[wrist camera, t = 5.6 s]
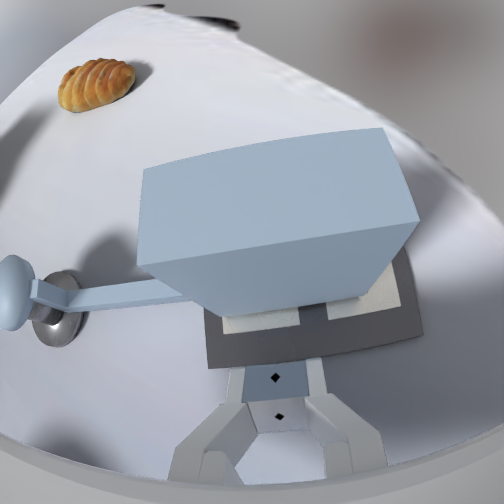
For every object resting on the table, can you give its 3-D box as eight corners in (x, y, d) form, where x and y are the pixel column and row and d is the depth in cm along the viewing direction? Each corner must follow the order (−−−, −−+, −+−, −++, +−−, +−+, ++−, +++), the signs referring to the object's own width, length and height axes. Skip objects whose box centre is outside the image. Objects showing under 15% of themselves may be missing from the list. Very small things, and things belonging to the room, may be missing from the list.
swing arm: (28, 339, 16) (-65, 312, 9) (32, 278, 18) (-52, 236, 10) (367, 309, 14) (428, 248, 6) (348, 225, 15) (374, 111, 8)
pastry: (152, 67, 26) (138, 40, 22) (120, 112, 24) (100, 85, 21) (92, 77, 28) (77, 56, 25) (61, 118, 26) (43, 97, 23)
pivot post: (91, 332, 17) (50, 322, 13) (42, 356, 17) (2, 349, 13) (77, 261, 19) (41, 241, 15) (32, 290, 19) (-4, 275, 15)
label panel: (421, 335, 13) (424, 334, 13) (210, 368, 15) (206, 368, 14) (382, 183, 17) (383, 179, 16) (200, 212, 18) (198, 208, 18)
